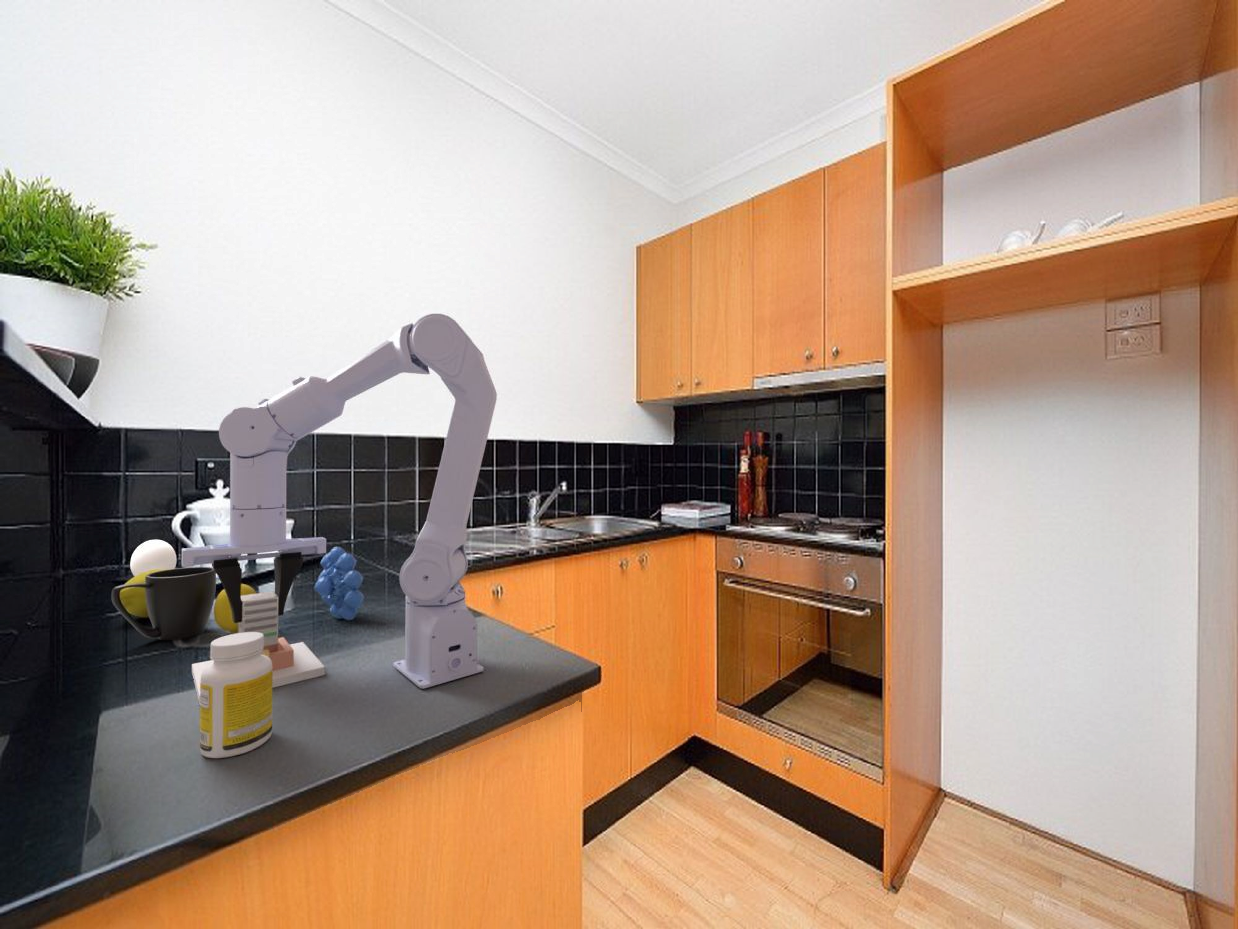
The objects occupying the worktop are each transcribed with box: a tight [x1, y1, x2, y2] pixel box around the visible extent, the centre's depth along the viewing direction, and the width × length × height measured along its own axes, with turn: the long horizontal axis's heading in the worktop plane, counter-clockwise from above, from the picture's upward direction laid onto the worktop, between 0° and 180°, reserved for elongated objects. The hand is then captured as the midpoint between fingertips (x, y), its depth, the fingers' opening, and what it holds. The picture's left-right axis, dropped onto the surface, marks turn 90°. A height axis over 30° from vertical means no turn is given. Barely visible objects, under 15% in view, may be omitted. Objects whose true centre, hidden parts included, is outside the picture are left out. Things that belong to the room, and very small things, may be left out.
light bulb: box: [129, 539, 177, 577], centre depth 101 cm, size 7×7×11 cm
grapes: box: [313, 546, 365, 621], centre depth 86 cm, size 12×7×12 cm, turn 55°
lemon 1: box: [120, 569, 169, 619], centre depth 87 cm, size 11×8×8 cm
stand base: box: [191, 636, 326, 705], centre depth 64 cm, size 12×12×4 cm
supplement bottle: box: [199, 632, 274, 759], centre depth 48 cm, size 5×5×10 cm
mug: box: [110, 566, 217, 641], centre depth 77 cm, size 8×12×10 cm
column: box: [238, 590, 279, 646], centre depth 64 cm, size 4×4×6 cm
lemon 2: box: [213, 583, 257, 634], centre depth 78 cm, size 6×6×8 cm
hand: (258, 617), depth 64 cm, fingers closed on column, 4 cm apart
